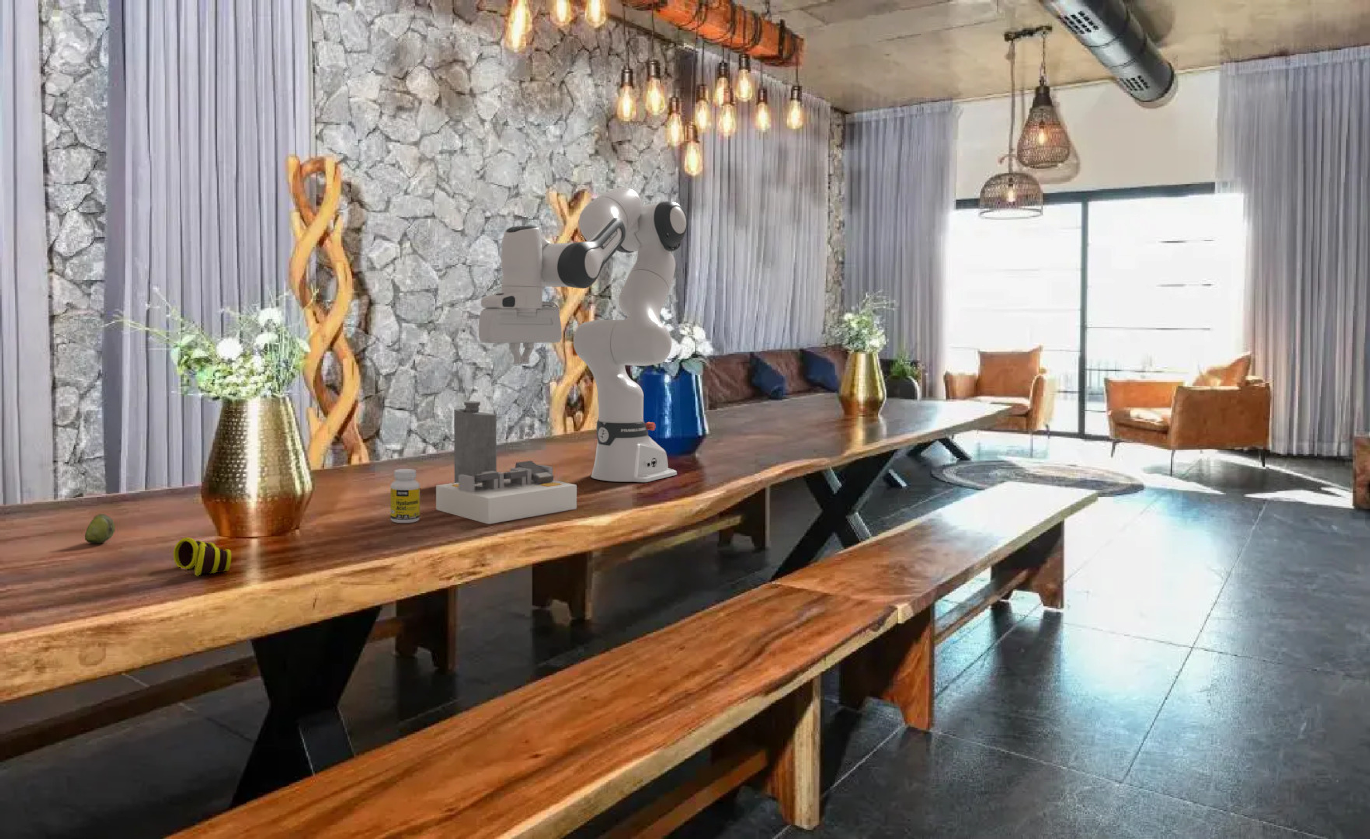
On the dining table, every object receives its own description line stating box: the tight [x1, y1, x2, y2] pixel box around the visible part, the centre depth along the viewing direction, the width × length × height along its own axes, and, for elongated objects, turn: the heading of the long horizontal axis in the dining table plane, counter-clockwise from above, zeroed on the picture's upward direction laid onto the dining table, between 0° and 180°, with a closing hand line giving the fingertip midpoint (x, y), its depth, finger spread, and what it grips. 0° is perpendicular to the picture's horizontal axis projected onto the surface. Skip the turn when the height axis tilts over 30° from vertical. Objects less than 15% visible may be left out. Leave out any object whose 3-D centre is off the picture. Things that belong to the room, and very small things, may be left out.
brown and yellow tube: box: [172, 537, 232, 577], centre depth 146 cm, size 10×5×5 cm, turn 49°
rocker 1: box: [458, 471, 499, 484], centre depth 190 cm, size 4×8×1 cm, turn 47°
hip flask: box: [453, 400, 498, 483], centre depth 218 cm, size 16×4×20 cm, turn 42°
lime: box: [84, 513, 116, 545], centre depth 161 cm, size 4×5×5 cm
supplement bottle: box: [390, 468, 421, 524], centre depth 183 cm, size 5×5×10 cm
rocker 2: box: [503, 470, 527, 479], centre depth 195 cm, size 4×8×1 cm, turn 47°
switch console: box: [435, 464, 578, 525], centre depth 195 cm, size 22×18×8 cm
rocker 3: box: [514, 460, 555, 484], centre depth 200 cm, size 4×8×1 cm, turn 47°
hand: (521, 363), depth 209 cm, fingers closed
